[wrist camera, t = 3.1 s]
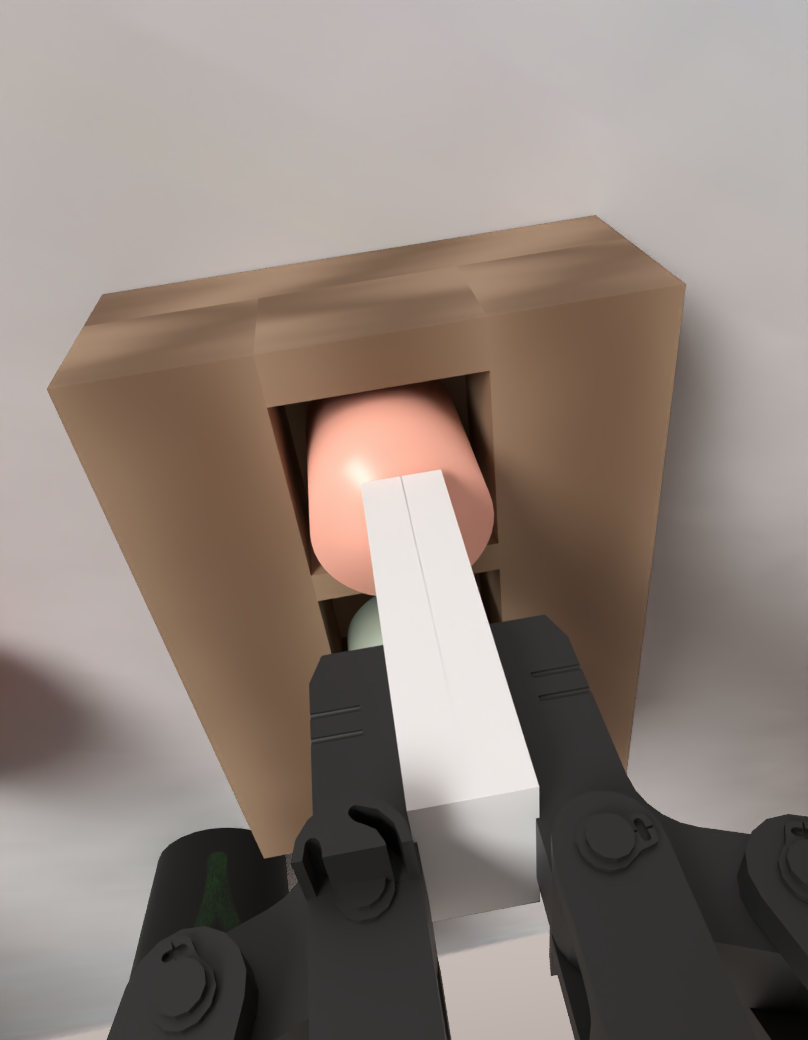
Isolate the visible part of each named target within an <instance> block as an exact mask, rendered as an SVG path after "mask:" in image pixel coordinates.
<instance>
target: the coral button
mask: <svg viewBox="0 0 808 1040" xmlns="http://www.w3.org/2000/svg"><path fill="white" fill-rule="evenodd" d="M306 448H307V471H308V495H309V519H310V537H311V543H312V547H313V550H314V553H315V555H316V557H317V558H318V560H319V562H320V563H321V565H322V566H323V567H324V569H325V570H326V571H327V572H328V573H329V574H330V575H331V576H332V577H333V578H335V579H336V580H337V581H339V582H340V583H342V584H344V585H345V586H347V587H349V588H351V589H354V590H356V591H358V592H362V593H365V594H369V595H374V596H376V590H375V582H374V575H373V568H372V561H371V554H370V547H369V540H368V533H367V526H366V519H365V512H364V505H363V497H362V490H361V483H363V482H369V481H375V480H381V479H387V478H393V477H399V476H405V475H410V474H416V473H422V472H428V471H434V470H440V469H441V471H442V474H443V478H444V481H445V484H446V487H447V491H448V494H449V497H450V500H451V503H452V507H453V510H454V513H455V516H456V520H457V523H458V526H459V529H460V533H461V536H462V539H463V542H464V545H465V549H466V552H467V555H468V558H469V562H470V565H471V566H472V565H473V564H474V563H475V562H476V560H477V559H478V558H479V557H480V555H481V554H482V552H483V551H484V549H485V547H486V545H487V543H488V541H489V539H490V536H491V533H492V528H493V523H494V510H493V503H492V500H491V497H490V494H489V491H488V488H487V486H486V483H485V481H484V478H483V476H482V473H481V471H480V468H479V466H478V463H477V461H476V458H475V456H474V453H473V450H472V448H471V445H470V443H469V440H468V438H467V435H466V433H465V430H464V428H463V425H462V423H461V420H460V418H459V415H458V412H457V410H456V407H455V405H454V402H453V400H452V397H451V395H450V393H449V391H448V390H447V388H446V387H445V385H444V384H443V383H442V381H441V380H440V379H436V380H430V381H424V382H418V383H412V384H406V385H400V386H394V387H388V388H382V389H376V390H370V391H364V392H358V393H352V394H346V395H340V396H334V397H328V398H322V399H316V400H312V401H311V404H310V406H309V409H308V413H307V418H306Z"/></svg>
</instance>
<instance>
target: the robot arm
mask: <svg viewBox="0 0 808 1040" xmlns="http://www.w3.org/2000/svg"><path fill="white" fill-rule="evenodd" d="M361 490H362V497H363V505H364V512H365V519H366V526H367V533H368V540H369V547H370V554H371V561H372V568H373V575H374V582H375V590H376V597H377V604H378V611H379V618H380V625H381V632H382V639H383V645H379V646H374V647H368V648H362V649H357V650H351V651H345V652H340V653H334V654H328V655H323V656H321V658H320V660H319V663H318V665H317V667H316V669H315V672H314V674H313V676H312V678H311V681H310V683H309V701H310V717H311V720H310V736H311V772H312V808H313V816H311V817H310V818H309V819H308V820H307V821H306V823H305V825H304V826H303V828H302V830H301V831H300V833H299V835H298V836H297V838H296V839H295V844H294V849H293V854H292V859H291V865H292V867H293V870H294V872H295V875H296V877H297V879H298V883H297V884H296V885H295V886H294V887H293V889H292V890H291V891H290V892H289V893H288V894H287V895H286V896H285V897H284V898H283V899H282V900H280V901H279V902H277V903H276V904H275V905H273V906H272V907H270V908H269V909H267V910H266V911H264V912H262V913H260V914H258V915H257V916H255V917H253V918H251V919H249V920H248V921H246V922H244V923H242V924H241V925H239V926H237V927H235V928H233V929H232V930H230V931H228V932H226V933H225V932H222V931H219V930H216V929H212V928H209V927H206V926H202V927H195V928H188V929H182V930H180V931H178V932H176V933H174V934H172V935H171V936H169V937H167V938H165V939H163V940H162V941H160V942H158V944H157V945H156V946H155V947H154V948H153V949H152V950H151V951H150V952H149V953H148V954H147V955H146V956H145V957H144V958H143V959H142V960H141V961H140V962H139V964H138V966H137V968H136V970H135V971H134V973H133V975H132V977H131V979H130V981H129V983H128V984H127V986H126V989H125V991H124V994H123V997H122V999H121V1002H120V1005H119V1008H118V1010H117V1013H116V1016H115V1019H114V1021H113V1024H112V1027H111V1030H110V1033H109V1035H108V1038H107V1040H451V1035H450V1029H449V1022H448V1016H447V1010H446V1003H445V996H444V990H443V983H442V977H441V971H440V966H439V962H438V957H437V950H436V944H435V937H434V931H433V924H432V922H435V921H440V920H445V919H451V918H456V917H461V916H467V915H472V914H477V913H483V912H488V911H493V910H498V909H504V908H509V907H514V906H520V905H525V904H530V903H536V902H540V892H541V896H542V900H543V903H544V907H545V911H546V914H547V918H548V921H549V925H550V949H549V950H550V951H549V952H550V953H549V958H550V969H551V976H553V975H558V978H559V982H560V986H561V989H562V993H563V997H564V1001H565V1004H566V1008H567V1012H568V1016H569V1019H570V1023H571V1026H572V1031H573V1034H574V1038H575V1040H808V817H806V816H798V815H791V814H787V815H782V816H778V817H774V818H769V819H766V820H765V821H764V822H763V823H762V824H760V825H759V826H758V827H757V828H756V829H754V830H753V831H752V833H751V834H745V833H738V832H730V831H723V830H716V829H709V828H702V827H696V826H692V825H688V824H684V823H680V822H678V821H676V820H674V819H671V818H669V817H667V816H665V815H663V814H661V813H660V812H659V811H657V810H656V809H654V808H653V807H652V806H650V805H649V804H648V803H647V802H646V801H645V800H644V799H643V798H642V797H641V796H640V795H639V794H638V793H637V792H636V790H635V789H634V787H633V785H632V783H631V782H630V780H629V778H628V776H627V774H626V772H625V769H624V767H623V765H622V762H621V760H620V758H619V755H618V753H617V751H616V748H615V746H614V744H613V741H612V739H611V736H610V734H609V732H608V729H607V727H606V725H605V722H604V720H603V718H602V715H601V713H600V711H599V708H598V706H597V703H596V701H595V699H594V696H593V694H592V692H590V689H589V685H588V682H587V680H586V678H585V675H584V673H583V670H582V669H581V668H580V663H579V661H578V659H577V656H576V654H575V652H574V649H573V647H572V645H571V642H570V640H569V637H568V636H567V635H566V634H565V633H564V632H563V631H562V630H561V629H560V628H559V627H558V626H557V625H555V624H554V623H553V622H552V621H551V620H550V619H549V618H548V617H547V616H546V615H545V614H544V615H539V616H533V617H527V618H522V619H516V620H510V621H505V622H499V623H493V624H489V623H488V620H487V616H486V613H485V610H484V607H483V604H482V600H481V597H480V594H479V591H478V587H477V584H476V581H475V578H474V575H473V571H472V568H471V565H470V562H469V558H468V555H467V552H466V549H465V545H464V542H463V539H462V536H461V533H460V529H459V526H458V523H457V520H456V516H455V513H454V510H453V507H452V503H451V500H450V497H449V494H448V491H447V487H446V484H445V481H444V478H443V474H442V471H441V469H440V470H434V471H428V472H422V473H416V474H410V475H405V476H399V477H393V478H387V479H381V480H375V481H369V482H363V483H361Z"/></svg>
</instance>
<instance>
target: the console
mask: <svg viewBox="0 0 808 1040" xmlns="http://www.w3.org/2000/svg"><path fill="white" fill-rule="evenodd" d="M685 287H686V284H685V283H684V282H683V281H681V280H680V279H679V278H677V277H676V276H675V275H673V274H672V273H671V272H669V271H668V270H667V269H665V268H664V267H663V266H661V265H660V264H659V263H658V262H656V261H655V260H654V259H652V258H651V257H650V256H648V255H647V254H646V253H644V252H643V251H642V250H640V249H639V248H638V247H637V246H635V245H634V244H633V243H631V242H630V241H629V240H627V239H626V238H625V237H623V236H622V235H621V234H619V233H618V232H617V231H615V230H614V229H613V228H612V227H610V226H609V225H608V224H606V223H605V222H604V221H602V220H601V219H600V218H598V217H597V216H596V215H595V216H589V217H582V218H576V219H570V220H564V221H558V222H551V223H545V224H539V225H533V226H526V227H520V228H514V229H508V230H501V231H495V232H489V233H483V234H477V235H470V236H464V237H458V238H452V239H445V240H439V241H433V242H427V243H421V244H414V245H408V246H402V247H396V248H389V249H383V250H377V251H371V252H365V253H358V254H352V255H346V256H340V257H333V258H327V259H321V260H315V261H309V262H302V263H296V264H290V265H284V266H277V267H271V268H265V269H259V270H253V271H246V272H240V273H234V274H228V275H221V276H215V277H209V278H203V279H197V280H190V281H184V282H178V283H172V284H165V285H159V286H153V287H147V288H141V289H134V290H128V291H122V292H116V293H109V294H103V295H102V296H101V298H100V299H99V301H98V303H97V305H96V306H95V308H94V310H93V311H92V313H91V315H90V316H89V318H88V320H87V322H86V323H85V325H84V327H83V328H82V330H81V332H80V333H79V335H78V337H77V339H76V340H75V342H74V344H73V345H72V347H71V349H70V350H69V352H68V354H67V356H66V357H65V359H64V361H63V362H62V364H61V366H60V367H59V369H58V371H57V373H56V374H55V376H54V378H53V379H52V381H51V383H50V384H49V386H48V388H47V391H48V393H49V395H50V397H51V399H52V401H53V404H54V406H55V408H56V410H57V412H58V414H59V417H60V419H61V421H62V423H63V425H64V427H65V430H66V432H67V434H68V436H69V438H70V440H71V442H72V445H73V447H74V449H75V451H76V453H77V455H78V458H79V460H80V462H81V464H82V466H83V468H84V471H85V473H86V475H87V477H88V479H89V481H90V484H91V486H92V488H93V490H94V492H95V494H96V496H97V499H98V501H99V503H100V505H101V507H102V509H103V512H104V514H105V516H106V518H107V520H108V522H109V525H110V527H111V529H112V531H113V533H114V535H115V538H116V540H117V542H118V544H119V546H120V548H121V551H122V553H123V555H124V557H125V559H126V561H127V563H128V566H129V568H130V570H131V572H132V574H133V576H134V579H135V581H136V583H137V585H138V587H139V589H140V592H141V594H142V596H143V598H144V600H145V602H146V605H147V607H148V609H149V611H150V613H151V615H152V617H153V620H154V622H155V624H156V626H157V628H158V630H159V633H160V635H161V637H162V639H163V641H164V643H165V646H166V648H167V650H168V652H169V654H170V656H171V659H172V661H173V663H174V665H175V667H176V669H177V671H178V674H179V676H180V678H181V680H182V682H183V684H184V687H185V689H186V691H187V693H188V695H189V697H190V700H191V702H192V704H193V706H194V708H195V710H196V713H197V715H198V717H199V719H200V721H201V723H202V725H203V728H204V730H205V732H206V734H207V736H208V738H209V741H210V743H211V745H212V747H213V749H214V751H215V754H216V756H217V758H218V760H219V762H220V764H221V767H222V769H223V771H224V773H225V775H226V777H227V779H228V782H229V784H230V786H231V788H232V790H233V792H234V795H235V797H236V799H237V801H238V803H239V805H240V808H241V810H242V812H243V814H244V816H245V818H246V821H247V823H248V825H249V827H250V829H251V831H252V834H253V836H254V838H255V840H256V842H257V844H258V846H259V849H260V851H261V853H262V855H263V857H264V859H265V858H270V857H275V856H281V855H286V854H291V853H293V849H294V844H295V839H296V838H297V836H298V835H299V833H300V831H301V830H302V828H303V826H304V825H305V823H306V821H307V820H308V819H309V818H310V817H311V816H313V808H312V772H311V736H310V720H311V717H310V701H309V683H310V681H311V678H312V676H313V674H314V672H315V669H316V667H317V665H318V663H319V660H320V658H321V656H323V655H328V654H334V653H340V652H345V651H348V644H347V633H348V629H349V625H350V623H351V621H352V619H353V617H354V615H355V614H356V613H357V611H358V610H359V609H360V608H361V607H362V606H363V605H364V604H365V603H366V602H367V601H369V600H370V599H371V598H373V597H374V595H369V594H365V593H362V592H358V591H356V590H354V589H351V588H349V587H347V586H345V585H344V584H342V583H340V582H339V581H337V580H336V579H335V578H333V577H332V576H331V575H330V574H329V573H328V572H327V571H326V570H325V569H324V567H323V566H322V565H321V563H320V562H319V560H318V558H317V557H316V555H315V553H314V550H313V547H312V543H311V537H310V519H309V495H308V471H307V448H306V418H307V413H308V409H309V406H310V404H311V401H312V400H316V399H322V398H328V397H334V396H340V395H346V394H352V393H358V392H364V391H370V390H376V389H382V388H388V387H394V386H400V385H406V384H412V383H418V382H424V381H430V380H436V379H440V380H441V381H442V383H443V384H444V385H445V387H446V388H447V390H448V391H449V393H450V395H451V397H452V400H453V402H454V405H455V407H456V410H457V412H458V415H459V418H460V420H461V423H462V425H463V428H464V430H465V433H466V435H467V438H468V440H469V443H470V445H471V448H472V450H473V453H474V456H475V458H476V461H477V463H478V466H479V468H480V471H481V473H482V476H483V478H484V481H485V483H486V486H487V488H488V491H489V494H490V497H491V500H492V503H493V510H494V523H493V528H492V533H491V536H490V539H489V541H488V543H487V545H486V547H485V549H484V551H483V552H482V554H481V555H480V557H479V558H478V559H477V560H476V562H475V563H474V564H473V565H472V566H471V568H472V571H473V575H474V578H475V581H476V584H477V587H478V591H479V594H480V597H481V600H482V604H483V607H484V610H485V613H486V616H487V620H488V623H489V624H493V623H499V622H505V621H510V620H516V619H522V618H527V617H533V616H539V615H544V614H545V615H546V616H547V617H548V618H549V619H550V620H551V621H552V622H553V623H554V624H555V625H557V626H558V627H559V628H560V629H561V630H562V631H563V632H564V633H565V634H566V635H567V636H568V637H569V640H570V642H571V645H572V647H573V649H574V652H575V654H576V656H577V659H578V661H579V663H580V668H581V669H582V670H583V673H584V675H585V678H586V680H587V682H588V685H589V689H590V692H592V694H593V696H594V699H595V701H596V703H597V706H598V708H599V711H600V713H601V715H602V718H603V720H604V722H605V725H606V727H607V729H608V732H609V734H610V736H611V739H612V741H613V744H614V746H615V748H616V751H617V753H618V755H619V758H620V760H621V762H622V765H623V767H624V769H625V772H626V774H627V766H628V757H629V749H630V741H631V733H632V724H633V716H634V708H635V700H636V691H637V683H638V675H639V667H640V658H641V650H642V642H643V634H644V625H645V617H646V609H647V601H648V592H649V584H650V576H651V567H652V559H653V551H654V543H655V534H656V526H657V518H658V510H659V501H660V493H661V485H662V477H663V468H664V460H665V452H666V444H667V435H668V427H669V419H670V411H671V402H672V394H673V386H674V377H675V369H676V361H677V353H678V344H679V336H680V328H681V320H682V311H683V303H684V295H685Z"/></svg>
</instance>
